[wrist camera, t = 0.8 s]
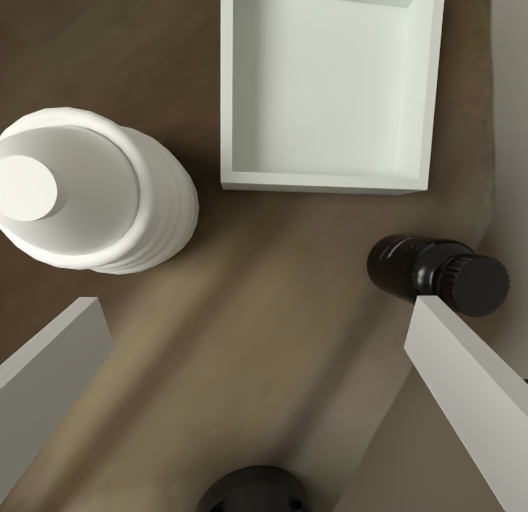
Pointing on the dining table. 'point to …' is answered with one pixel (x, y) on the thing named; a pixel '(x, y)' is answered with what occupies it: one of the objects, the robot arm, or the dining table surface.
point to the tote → (328, 95)
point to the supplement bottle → (438, 273)
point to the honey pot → (92, 193)
